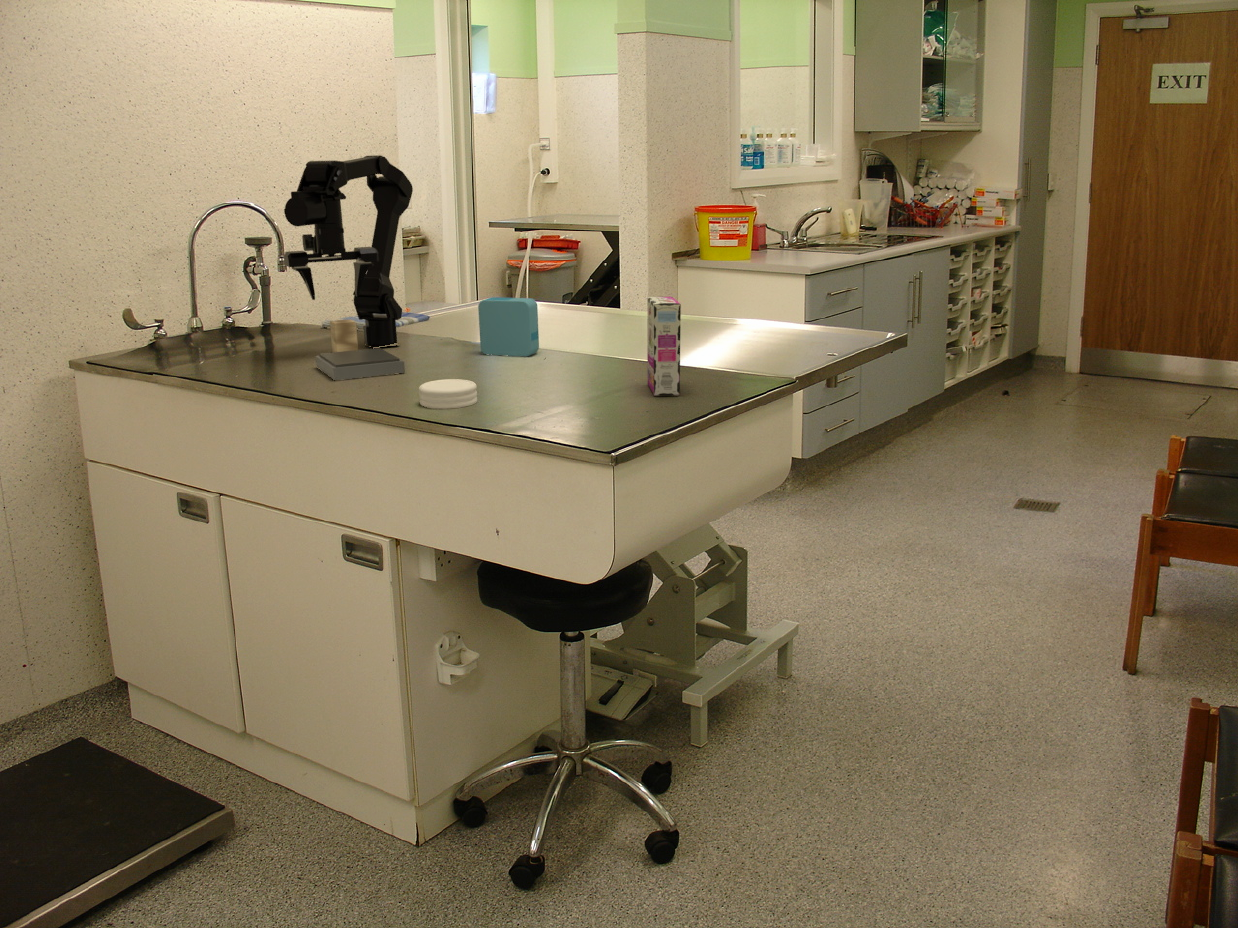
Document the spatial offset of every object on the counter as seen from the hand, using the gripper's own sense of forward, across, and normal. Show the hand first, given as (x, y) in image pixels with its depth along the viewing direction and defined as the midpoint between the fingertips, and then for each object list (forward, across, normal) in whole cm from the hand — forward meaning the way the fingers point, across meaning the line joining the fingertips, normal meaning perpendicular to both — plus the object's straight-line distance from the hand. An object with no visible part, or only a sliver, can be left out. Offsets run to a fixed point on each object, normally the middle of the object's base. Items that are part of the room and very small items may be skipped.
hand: (335, 298), depth 230 cm
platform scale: (+13, 0, +17) cm, 21 cm away
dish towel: (+14, -20, -45) cm, 51 cm away
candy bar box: (+13, -43, +66) cm, 80 cm away
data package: (+13, -33, +16) cm, 39 cm away
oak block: (+13, -1, +1) cm, 13 cm away
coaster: (+13, -6, +55) cm, 57 cm away
